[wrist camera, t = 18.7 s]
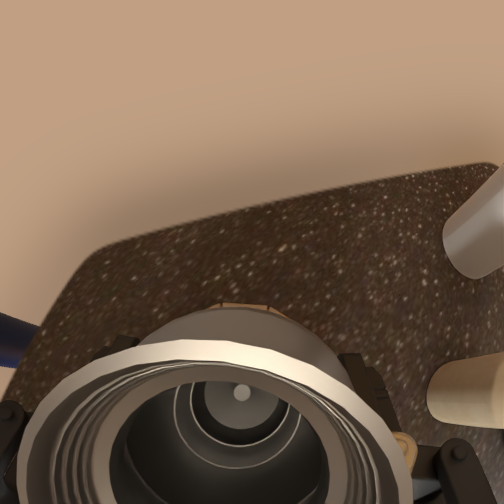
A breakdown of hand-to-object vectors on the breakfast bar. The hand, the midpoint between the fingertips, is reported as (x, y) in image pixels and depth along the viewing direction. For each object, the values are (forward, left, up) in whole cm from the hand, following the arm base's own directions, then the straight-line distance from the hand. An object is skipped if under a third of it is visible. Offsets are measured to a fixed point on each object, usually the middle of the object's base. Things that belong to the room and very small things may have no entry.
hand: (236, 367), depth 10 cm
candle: (+18, -3, -12) cm, 22 cm away
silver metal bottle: (0, -2, -11) cm, 11 cm away
